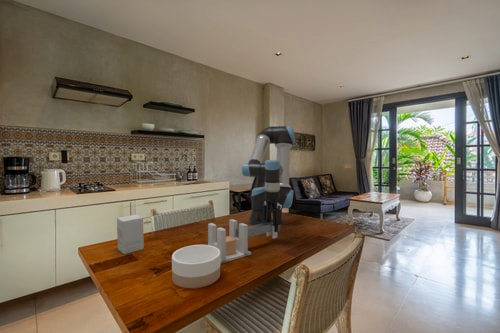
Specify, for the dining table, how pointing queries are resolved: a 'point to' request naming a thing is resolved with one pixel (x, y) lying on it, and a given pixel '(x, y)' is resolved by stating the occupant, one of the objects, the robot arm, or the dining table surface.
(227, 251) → the block
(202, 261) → the bowl
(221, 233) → the bracket
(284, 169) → the robot arm
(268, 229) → the shaft
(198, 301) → the dining table surface
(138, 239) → the supplement box
